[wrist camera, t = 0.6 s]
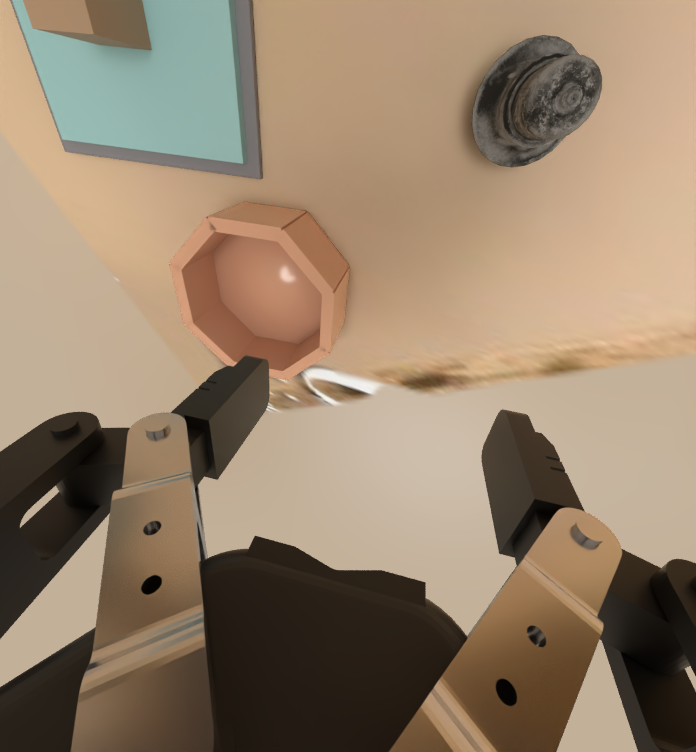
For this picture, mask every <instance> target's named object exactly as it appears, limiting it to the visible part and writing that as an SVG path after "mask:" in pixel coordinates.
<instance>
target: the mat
mask: <svg viewBox="0 0 696 752" xmlns="http://www.w3.org/2000/svg"><path fill="white" fill-rule="evenodd" d="M10 1H11V4H12V7H13V9H14V12H15V15H16V18H17V20H18V23H19V26H20V29H21V31H22V34H23V37H24V40H25V42H26V45H27V48H28V51H29V53H30V56H31V59H32V62H33V64H34V67H35V70H36V73H37V76H38V78H39V81H40V84H41V87H42V89H43V92H44V95H45V98H46V100H47V103H48V106H49V109H50V111H51V114H52V117H53V120H54V122H55V125H56V128H57V131H58V133H59V136H60V139H61V142H62V144H63V147H64V150H65V152H70V153H78V154H85V155H92V156H99V157H106V158H113V159H121V160H128V161H135V162H142V163H149V164H156V165H163V166H171V167H178V168H185V169H192V170H199V171H206V172H214V173H221V174H228V175H235V176H242V177H249V178H256V179H262V178H263V176H262V159H261V142H260V125H259V108H258V91H257V74H256V57H255V41H254V24H253V7H252V0H234V4H235V16H236V29H237V41H238V53H239V65H240V78H241V90H242V102H243V114H244V127H245V139H246V151H247V163H245V164H240V163H233V162H225V161H218V160H210V159H203V158H196V157H188V156H181V155H174V154H166V153H159V152H151V151H144V150H137V149H129V148H122V147H115V146H107V145H100V144H92V143H85V142H78V141H70V140H63V139H62V137H61V135H60V132H59V129H58V126H57V124H56V121H55V118H54V115H53V112H52V110H51V107H50V104H49V101H48V99H47V96H46V93H45V90H44V87H43V85H42V82H41V79H40V76H39V74H38V71H37V68H36V65H35V63H34V60H33V57H32V54H31V51H30V49H29V46H28V43H27V40H26V38H25V35H24V32H23V29H22V26H21V24H20V21H19V18H18V15H17V13H16V10H15V7H14V4H13V2H12V0H10Z"/></svg>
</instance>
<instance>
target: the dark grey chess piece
mask: <svg viewBox="0 0 696 752" xmlns="http://www.w3.org/2000/svg"><path fill="white" fill-rule="evenodd" d="M601 89H602V75H601V72H600V69H599V67H598V66H597V64H596V63H595V62H594V61H593V60H592V59H590V58H588V57H586V56H584V55H579V53H578V52H577V51H576V50H575V48H574V47H573V46H572V45H571V44H570V43H568V42H567V41H565V40H563V39H561V38H559V37H555V36H546V35H542V36H538V37H533V38H529V39H526V40H524V41H522V42H520V43H519V44H517V45H515V46H513V47H511V48H510V49H509V50H508V51H507V52H506V53H505V54H503V55H502V56H501V57H500V58H499V59H498V60H497V61H496V62H495V64H494V65H493V66H492V68H491V69H490V70H489V72H488V73H487V74H486V76H485V78H484V80H483V82H482V84H481V86H480V88H479V90H478V92H477V96H476V99H475V103H474V107H473V112H472V128H473V134H474V139H475V141H476V143H477V145H478V147H479V150H480V151H481V152H482V153H483V154H484V156H485V157H486V158H487V159H488V160H490V161H492V162H494V163H496V164H498V165H500V166H507V167H517V166H524V165H527V164H530V163H532V162H535V161H537V160H539V159H541V158H542V157H544V156H545V155H546V154H548V153H549V152H551V151H552V150H553V149H554V148H555V147H556V146H557V145H558V144H559V143H560V142H561V141H562V140H563V139H564V138H565V136H567V135H569V134H570V133H572V132H573V131H575V130H576V129H577V128H579V127H580V126H581V125H582V124H583V123H584V122H585V121H586V120H587V119H588V117H589V116H590V115H591V113H592V112H593V110H594V109H595V107H596V104H597V102H598V100H599V98H600V93H601Z"/></svg>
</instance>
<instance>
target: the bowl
mask: <svg viewBox="0 0 696 752" xmlns="http://www.w3.org/2000/svg"><path fill="white" fill-rule="evenodd" d="M170 263H171V264H169V266H170V270H171V274H172V278H173V282H174V286H175V290H176V294H177V298H178V302H179V306H180V311H181V315H182V319H183V323H184V324H185V326H186V327H187V328H188V329H189V330H190V331H191V332H192V333H193V334H194V335H195V336H196V337H197V338H198V339H200V340H201V341H202V342H203V343H204V344H205V345H206V346H207V347H208V348H209V349H210V350H211V351H212V352H214V353H215V354H216V355H217V356H218V357H219V358H220V359H221V360H222V361H223V362H224V363H225V364H226V365H228V366H233V367H234V366H235V365H236V364H237V363H238V362H239V361H240V360H241V359H242V358H243V357H244V356H245V355H248V356H253V357H258V358H263V359H267V360H268V363H269V377H274V378H278V379H283V380H286V379H287V380H288V379H290V378H291V377H293V376H295V375H296V374H298V373H299V372H301V371H303V370H304V369H306V368H308V367H309V366H311V365H312V364H314V363H316V362H317V361H319V360H320V359H322V358H324V357H325V356H327V355H328V354H330V352H331V350H332V348H333V345H334V343H335V341H336V339H337V337H338V334H339V332H340V330H341V328H342V326H343V323H344V321H345V311H346V300H347V290H348V279H349V269H350V267H348V266H349V265H348V263H347V262H346V261H345V259H344V258H343V257H342V256H341V254H340V253H339V252H338V250H337V249H336V248H335V246H334V245H333V244H332V243H331V241H330V240H329V239H328V237H327V236H326V235H325V233H324V232H323V231H322V230H321V228H320V227H319V226H318V224H317V223H316V222H315V220H314V219H313V218H312V216H311V215H310V214H309V213H306V211H302V210H296V209H289V208H282V207H275V206H269V205H262V204H255V203H248V202H243V203H241V204H238V205H236V206H233V207H230V208H228V209H225V210H223V211H220V212H218V213H215V214H213V215H210V216H208V217H206V218H205V219H204V220H203V222H202V223H201V224H200V225H199V227H198V228H197V229H196V230H195V232H194V233H193V234H192V235H191V236H190V238H189V239H188V240H187V241H186V243H185V244H184V245H183V246H182V248H181V249H180V250H179V251H178V252H177V254H176V255H175V256H174V257H173V259H172V260H171V261H170Z"/></svg>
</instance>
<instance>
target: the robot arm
mask: <svg viewBox="0 0 696 752" xmlns="http://www.w3.org/2000/svg"><path fill="white" fill-rule="evenodd" d="M268 402H269V363H268V360H267V359H263V358H258V357H253V356H248V355H245V356H244V357H243V358H242V359H241V360H240V361H239V362H238V363H237V364H236V365H235V366H234V367H233V366H227V367H225V368H222V369H220V370H218V371H216V372H214V373H213V374H212V375H211V376H210V377H209V378H208V379H207V380H206V382H204V383H202V384H201V385H200V386H199V388H198V389H196V390H195V391H194V392H193V393H192V394H190V395H189V396H188V397H187V398H186V399H185V400H184V401H183V402H182V403H181V404H179V406H177V407H176V408H175V409H174V410H173V411H172V412H171V413H158V414H153V415H149V416H147V417H144V418H142V419H140V420H139V421H137V422H136V423H135V424H134V425H132V426H131V428H101V426H100V423H99V420H98V418H97V417H96V416H95V415H93V414H91V413H87V412H72V413H66V414H62V415H59V416H56V417H53V418H51V419H49V420H47V421H45V422H43V423H42V424H40V425H39V426H37V427H36V428H34V429H33V430H31V431H30V432H28V433H27V434H25V435H24V436H23V437H21V438H20V439H18V440H17V441H15V442H14V443H12V444H11V445H9V446H8V447H7V448H5V449H4V450H2V451H1V452H0V638H1V637H2V636H3V635H4V634H5V633H6V631H7V630H8V629H9V628H10V627H11V626H12V625H13V624H14V622H15V621H16V620H17V619H18V618H19V617H20V616H21V614H22V613H23V612H24V611H25V610H26V608H27V607H28V606H29V605H30V604H31V603H32V602H33V600H34V599H35V598H36V597H37V596H38V595H39V593H41V591H42V590H43V589H44V588H45V587H46V586H47V584H48V583H49V582H50V581H51V580H52V578H54V576H55V575H56V574H57V573H58V572H59V571H60V569H61V568H62V567H63V566H64V565H65V564H66V562H67V561H68V560H69V559H70V558H71V557H72V556H73V555H74V553H75V552H76V551H77V550H78V549H79V548H80V546H81V545H82V544H83V543H84V542H85V540H87V538H88V537H89V536H90V535H91V534H92V532H93V531H94V530H95V529H96V528H97V527H98V526H99V524H100V523H101V522H102V521H103V520H104V519H105V518H106V517H107V515H108V514H109V513H110V516H109V525H108V532H107V540H106V548H105V556H104V565H103V573H102V580H101V589H100V596H99V605H98V612H97V620H96V627H95V628H94V629H92V630H91V631H89V632H87V633H86V634H84V635H83V636H81V637H79V638H78V639H76V640H75V641H73V642H72V643H70V644H68V645H67V646H65V647H64V648H62V649H60V650H59V651H57V652H56V653H54V654H52V655H51V656H49V657H48V658H46V659H44V660H43V661H41V662H40V663H38V664H37V665H35V666H33V667H32V668H30V669H28V670H27V671H25V672H24V673H22V674H21V675H19V676H17V677H16V678H14V679H13V680H11V681H9V682H8V683H6V684H5V685H3V686H1V687H0V752H556V751H557V749H558V746H559V743H560V741H561V738H562V736H563V733H564V730H565V728H566V725H567V723H568V720H569V717H570V715H571V712H572V710H573V707H574V704H575V702H576V699H577V697H578V694H579V691H580V689H581V686H582V683H583V681H584V678H585V676H586V673H587V670H588V667H589V665H590V663H591V660H592V657H593V655H594V652H595V650H596V647H597V644H598V642H599V639H600V640H602V643H603V645H604V649H605V652H606V654H607V658H608V661H609V664H610V667H611V670H612V673H613V676H614V679H615V682H616V685H617V688H618V691H619V694H620V698H621V700H622V704H623V707H624V709H625V713H626V716H627V719H628V722H629V725H630V728H631V731H632V734H633V737H634V740H635V743H636V746H637V749H638V752H696V692H695V689H694V687H693V685H692V683H691V681H690V679H689V677H688V675H687V673H686V671H685V668H687V667H689V666H691V668H692V670H693V672H694V673H695V676H696V563H693V562H690V561H687V560H682V559H674V560H671V561H669V562H668V563H667V564H666V565H664V566H663V567H662V568H659V567H658V566H655V565H653V564H651V563H649V562H647V561H645V560H643V559H641V558H639V557H637V556H635V555H633V554H631V553H629V552H627V551H625V550H623V549H621V546H620V543H619V541H618V540H617V538H616V536H615V535H614V534H613V533H612V531H611V530H610V529H609V528H608V527H607V526H606V525H605V524H603V523H602V522H601V521H600V520H598V519H597V518H595V517H594V516H592V515H590V514H588V513H586V512H585V511H584V509H583V507H582V505H581V503H580V501H579V498H578V496H577V495H576V492H575V490H574V488H573V486H572V484H571V482H570V479H569V477H568V475H567V474H566V473H565V469H564V467H563V465H562V462H560V458H559V456H558V454H557V452H556V450H555V448H554V446H553V445H552V444H551V443H550V442H549V441H548V440H547V439H546V437H545V436H544V435H543V434H542V433H537V432H535V430H534V428H533V426H532V423H531V421H530V419H529V417H528V415H526V414H522V413H517V412H512V411H507V410H501V411H500V412H499V413H498V415H497V417H496V419H495V421H494V424H493V426H492V428H491V430H490V433H489V435H488V437H487V439H486V441H485V444H484V446H483V450H482V466H483V471H484V476H485V482H486V487H487V492H488V497H489V501H490V508H491V513H492V518H493V523H494V528H495V533H496V538H497V544H498V549H499V553H500V554H503V555H507V556H511V557H515V560H516V564H517V567H516V568H515V570H514V571H513V572H512V574H511V575H510V576H509V578H508V579H507V581H506V582H505V584H504V585H503V586H502V588H501V589H500V591H499V592H498V593H497V595H496V596H495V598H494V599H493V600H492V602H491V603H490V605H489V606H488V608H487V609H486V611H485V612H484V613H483V615H482V616H481V618H480V619H479V620H478V622H477V623H476V624H475V626H474V627H473V629H472V630H471V632H470V633H469V634H468V636H466V635H465V633H464V632H463V631H462V629H461V628H460V627H459V626H458V625H457V624H456V623H455V621H453V619H452V618H451V617H450V616H448V615H447V614H446V613H445V612H444V611H443V610H442V609H441V608H439V607H438V606H437V605H435V604H434V603H433V602H431V601H430V600H428V599H426V598H425V582H422V581H418V580H415V579H410V578H407V577H404V576H400V575H396V574H393V573H389V572H385V571H382V570H378V571H377V570H371V571H369V570H367V571H365V570H364V571H363V570H362V571H361V570H348V571H347V570H334V569H332V568H330V567H328V566H327V565H325V564H323V563H322V562H320V561H318V560H317V559H315V558H313V557H311V556H310V555H308V554H306V553H305V552H303V551H301V550H300V549H298V548H296V547H294V546H291V545H287V544H283V543H279V542H275V541H272V540H269V539H265V538H261V537H257V536H255V537H254V539H253V541H252V543H251V545H250V547H249V549H240V550H232V551H227V552H224V553H220V554H217V555H215V556H212V557H209V558H208V555H207V549H206V543H205V535H204V527H203V519H202V511H201V502H200V494H199V488H198V484H199V483H200V481H201V480H202V479H203V477H204V476H205V477H209V478H213V479H218V478H219V477H220V475H221V474H222V472H223V471H224V470H225V468H226V467H227V465H228V464H229V462H230V461H231V459H232V458H233V457H234V455H235V454H236V452H237V451H238V449H239V448H240V446H241V445H242V444H243V442H244V441H245V439H246V438H247V436H248V435H249V434H250V432H251V431H252V429H253V428H254V426H255V425H256V424H257V422H258V421H259V419H260V418H261V416H262V415H263V413H264V412H265V410H266V408H267V405H268ZM55 485H56V486H57V488H58V490H59V493H58V494H57V495H55V496H54V497H53V498H52V499H51V500H50V501H49V502H48V503H47V504H46V505H45V506H43V508H41V509H40V510H39V511H38V512H37V513H36V514H35V515H34V516H33V517H32V518H30V519H29V520H28V521H27V522H26V523H25V524H24V525H23V526H22V527H21V528H20V523H21V520H22V518H23V516H24V515H25V513H26V512H27V511H28V510H29V509H30V508H31V507H32V506H33V505H34V504H35V503H36V502H37V501H39V500H40V499H41V498H42V497H43V496H44V495H45V494H46V493H48V491H50V490H51V489H52V488H53V487H54V486H55Z"/></svg>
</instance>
